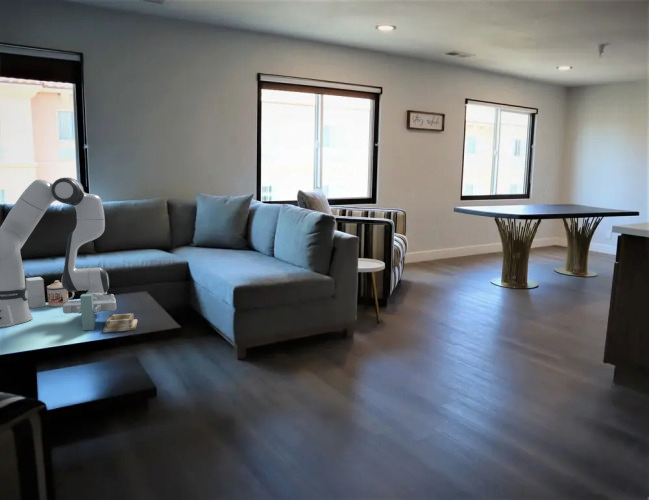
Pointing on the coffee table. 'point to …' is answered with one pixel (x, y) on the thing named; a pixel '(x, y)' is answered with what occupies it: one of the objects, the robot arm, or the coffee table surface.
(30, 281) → the small box
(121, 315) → the socket
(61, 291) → the teacup with lid
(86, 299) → the post
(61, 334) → the coffee table surface
